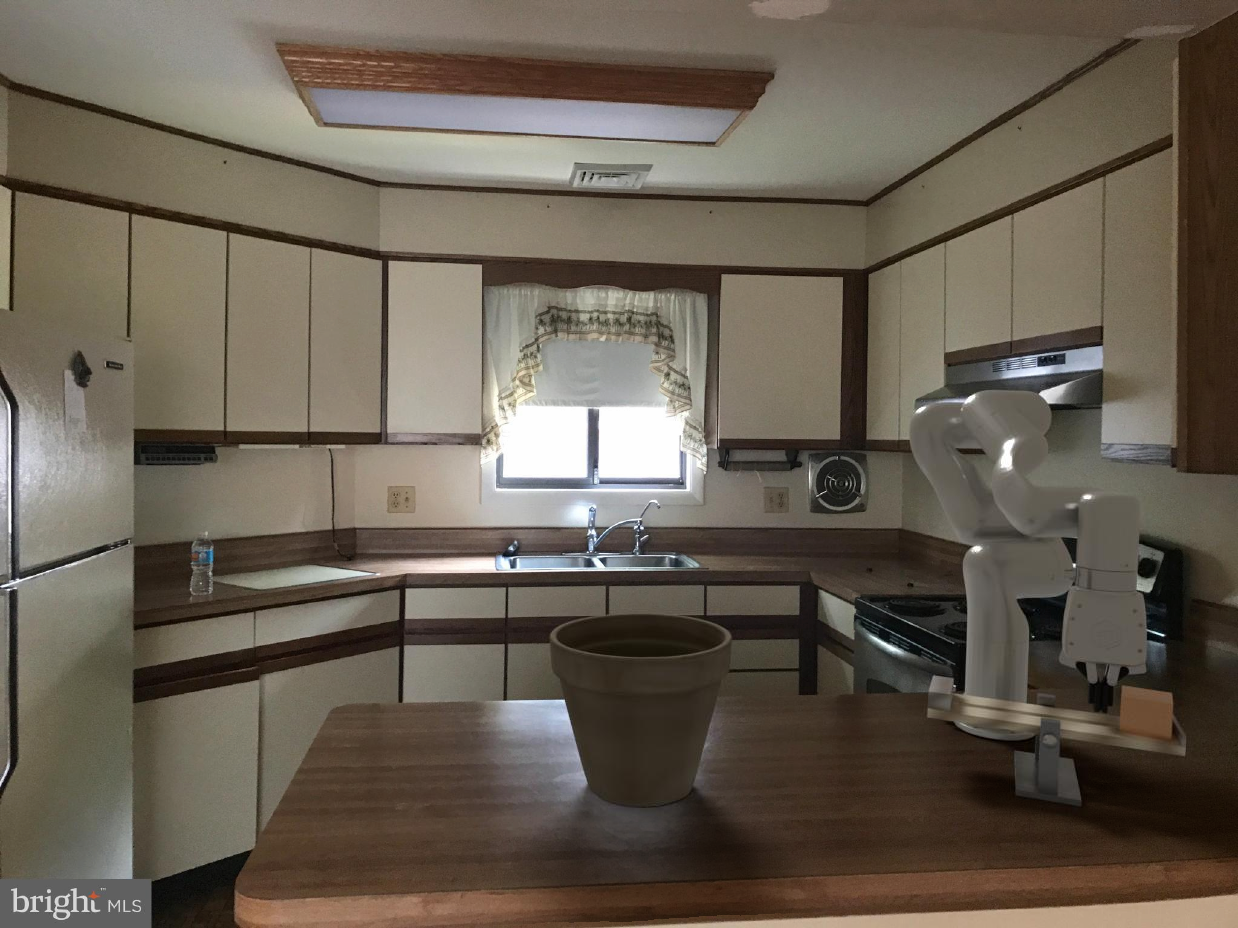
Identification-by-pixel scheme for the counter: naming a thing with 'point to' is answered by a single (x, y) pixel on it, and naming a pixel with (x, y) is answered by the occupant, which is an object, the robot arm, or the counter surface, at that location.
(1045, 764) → the pivot stand
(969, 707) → the beam
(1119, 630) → the robot arm
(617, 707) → the plant pot
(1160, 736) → the block
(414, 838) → the counter surface
